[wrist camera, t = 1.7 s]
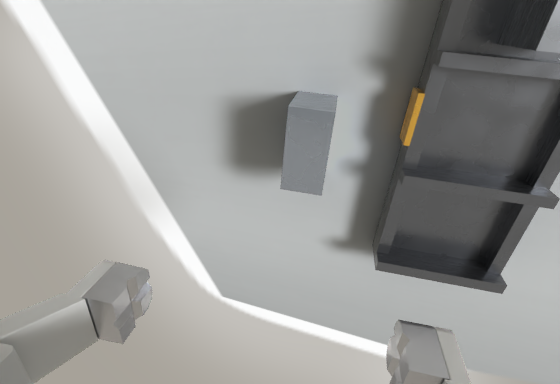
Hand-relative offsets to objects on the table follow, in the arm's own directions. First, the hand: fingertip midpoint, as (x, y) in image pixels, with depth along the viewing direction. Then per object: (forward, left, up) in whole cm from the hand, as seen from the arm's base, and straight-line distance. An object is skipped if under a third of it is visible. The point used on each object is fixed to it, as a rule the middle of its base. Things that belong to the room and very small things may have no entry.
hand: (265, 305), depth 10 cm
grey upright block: (0, 0, -18) cm, 18 cm away
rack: (-3, +12, -18) cm, 21 cm away
